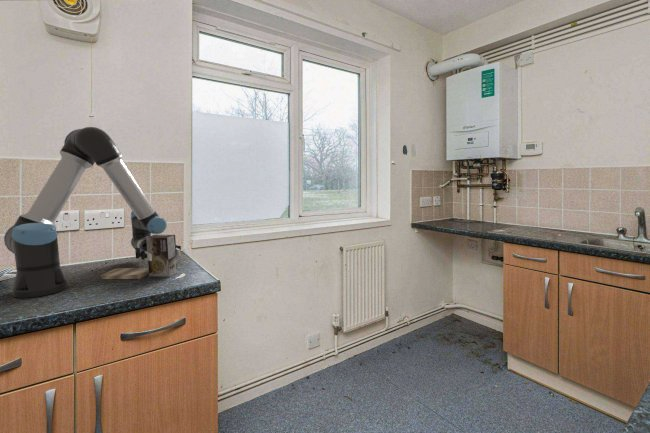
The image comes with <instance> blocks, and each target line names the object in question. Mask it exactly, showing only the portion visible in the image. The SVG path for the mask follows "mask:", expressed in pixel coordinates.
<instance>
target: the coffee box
mask: <svg viewBox="0 0 650 433" xmlns="http://www.w3.org/2000/svg"><path fill="white" fill-rule="evenodd" d="M146 242H147V252H149V253H151V254H152V261H149V260H147V263H148V264H147V266H148V268H149V274H148V277H170V278H171V277H172V276H174V275H176V274H177V273H178V258H177V257H178V256H177V255H176V245H177V244H176V243H177V242H176V234H153V235H152V234H151V236H150V237H147V238H146Z"/></svg>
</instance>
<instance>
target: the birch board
mask: <svg viewBox="0 0 650 433" xmlns="http://www.w3.org/2000/svg"><path fill="white" fill-rule="evenodd" d="M147 275H149V267H128V268H127V267H126V268H125V267H119V268H117V267H115V268H114V269H112V270H109V271H107V272H105V273H103V274H101V275H100V280H136V279H137V280H140V279H142V278H143V277H145V276H147Z"/></svg>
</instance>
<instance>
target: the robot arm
mask: <svg viewBox="0 0 650 433" xmlns="http://www.w3.org/2000/svg"><path fill="white" fill-rule="evenodd" d="M63 142H64V143H63V146H62V147H61V149H60V151H59V154H60V156H61V158H60V159H59V161H58V163H57V165H56V167H55V168H54V169H53V172H52V173H51V174H50V176H49V177H48V179H47V182H45V184H44V186H43V188H42V189H41V191H40V192H39V194H38V196H37V197H36V198H35V200H34V202H33V204H32V205H31V207H30V208H29V210H28V211H27V212H26V213H23V214H22V213H21V214H20V215H19V216H18V217H17V219H16V221H15V222H14V224H13V225H12V226H11V227H9V228H8V230H6V232H5V234H4V237H3V239H4V240H3V241H4V245H5V247H6V249H8V251H9V252H11V253H12V254H14V260H15V261H14V262H15V267H16V268H15V271H16V274H15V278H14V282H13V284H12V288H11V295H12V297H13V298H16V297H17V298H18V299H27V298H38V297H43V296H48V295H52V294H55V293H59V292H62V291H65V289H67V288H68V287H69V282H68V278H67V277H66V275H65V273H64V271H63V269H62V267H61V260H60V252H59V250H60V249H59V242H58V235H59V234H58V231H57V225H56V224H55V222H56V220H57V218H58V217H59V215H60V214H61V212H62V211H63V208H64V207H65V205H66V203H67V202H68V200H69V198H70V196H71V195H72V193H73V191H74V190H75V188H76V186H77V184H78V183H79V182H80V180H81V178H82V176H83V174H84V173H85V172H86V169H90V168H93V166H94V164H95V165H96V166H97V167H101V168H102V169H103V171H104V172H105V174H106V175H107V177H108V178H109V179H110V181H111V183H112V184H113V185H114V187H115V188H116V189H117V191H118V193H120V195H121V197H122V198H123V199H124V201H125V203H126V204H127V205H128V207H129V209H131V211H130V221H131V232H132V234H131V235H132V238H131V241H130V244H131V246H132V248H133V249H134V250H135V251H134V254H135V259H137V260H138V259H141V260H143V261H144V260H145V259H146V260H147V261H148V260H149V261H152V254H151V253H149V252H147V242H146V238H147V237H150V236H152V234H153V235H161V234H162V233H164V232H165V230H166V229H167V221H166V220H165V218H163V217H161V216H160V215H159V214H158V212H156V210H155V208H154V207H153V206H152V204H151V202H150V200H149V199H148V198H147V196H146V194H145V193H144V191H143V190H142V188H141V187H140V186H139V184H138V182H137V180H136V179H135V178H134V176H133V174H132V173H131V171H130V170H129V168H128V167H127V165H126V164H125V162H124V161H123V158H122V157H123V154H122V153H121V151H120V150H119V148H118V146H117V144H116V143H115V142H114V140H113V139H112V138H111V137H110V135H109V134H108V133H107V132H105V131H104V130H102V129H101V128H99V127H96V126H95V127H93V126H86V127H83V128H78V129H74V130H72V131H70V132H69V133H68V134H67V135H66V136H65V139H64V141H63ZM176 256H177V257H182V245H178V244H176Z"/></svg>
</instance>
